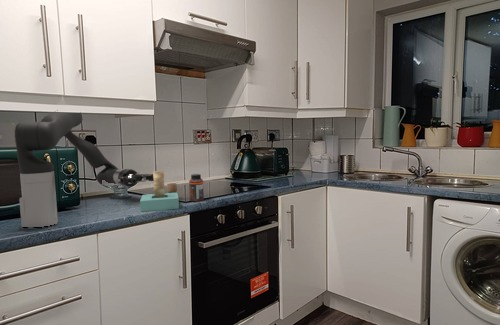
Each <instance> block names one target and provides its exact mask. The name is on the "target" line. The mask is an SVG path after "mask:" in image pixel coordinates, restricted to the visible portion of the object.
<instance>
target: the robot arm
mask: <svg viewBox="0 0 500 325" xmlns="http://www.w3.org/2000/svg"><path fill="white" fill-rule="evenodd" d="M80 113H81V112H80ZM80 113H59V112H56V111H54V112H51V113H48V114H47V115H45V116H44V117H42V119H41V120H40V121H24V122H23V121H22V122H21V121H20V122H18V123H17V124H16V125H15V128H14V142H15V147H16V155H17V164H18V168H19V175H20V176H19V177H20V179H19V180H20V186H21V187H20V190H21V197H19V211H20V221H21V222H20V223H21V228H22V227H42V228H45V227H44V226H48V227H51V226H50V225H52V226H54V224H55V225H57V224H58V222H59V221H58V219H59V216H58V205H57V194H56V193H57V191H56V181H55V180H56V179H55V166H54V164H53V162H51V161H47V160H44V159H41V158H40V157H37V156H36V155H34V152H42V151H43V152H45V151H50V150H53V149H54V148H55V147H56V146H57V144H58V143H59V142H60V140H61V139H62V138H63V137H65V138H66V140H68V141H69V142H70V143H71V144H72V146H73V147H75V148H76V150H77V151H79V153H80V154H82V156H83V158H84V159H85V160H86V161H87V163H88V164H89V165H90V166H91V168H93V169H98V168H101V167H103V166H104V168H103V169H102V170H100V171H99V172H98V173H97V175H96V181H97V183H99V184H100V185H102V180H105V181H106V182H108V183H114V185H118V186H123V187H133V186H135V185H136V184H138V183H145V182H147V181H149V182H154V179H153V173H152V174H151V173H138V172H137V171H136V170H134V169H131V168H130V169H129V168H118V167H117V166H116V165H114V164H113V163H112V162H110V161H109V160H108V159H107V158H106V157H105V156H104V155H103V153H102V151H101V150H100V148H98V147H97V145H95V144H94V143H92V142H90V141H87V140H85V139H83V138H81V137H79V136H77V135H76V134H75V133H73V131H71V130H72V129H74V128H76V127H77V126H79V125H81V124H82V123H83V115H82V113H81V114H80ZM102 186H103V185H102Z"/></svg>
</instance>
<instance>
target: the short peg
mask: <svg viewBox="0 0 500 325" xmlns="http://www.w3.org/2000/svg"><path fill="white" fill-rule="evenodd" d="M166 185H167V186H166V188H167V193H178V186H177V182H176V183H175V182H174V183H167V184H166Z"/></svg>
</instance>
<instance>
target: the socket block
mask: <svg viewBox="0 0 500 325" xmlns="http://www.w3.org/2000/svg"><path fill="white" fill-rule="evenodd" d="M179 200H180V199H179V194H178V192H177V193H168V192H166V193H165V198H154V193H153V194H152V193H151V194H142V195H141V198H140V200H139V205H140V207H139V208H140V209H139V210H140V212H152V211H155V212H156V211H165V210H166V211H167V210H179V209H180V205H179V204H180V201H179Z"/></svg>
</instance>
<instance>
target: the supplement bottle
mask: <svg viewBox="0 0 500 325" xmlns="http://www.w3.org/2000/svg"><path fill="white" fill-rule="evenodd" d="M190 177H191V179H189V181H188V184H189V185H188V188H189V189H188V190H189V201H190V202H193V201H195V202H203V201H204V199H205V198H204V196H205V194H204V180H203V179H202V178H201V173H191V176H190ZM195 202H194V203H195Z"/></svg>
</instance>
